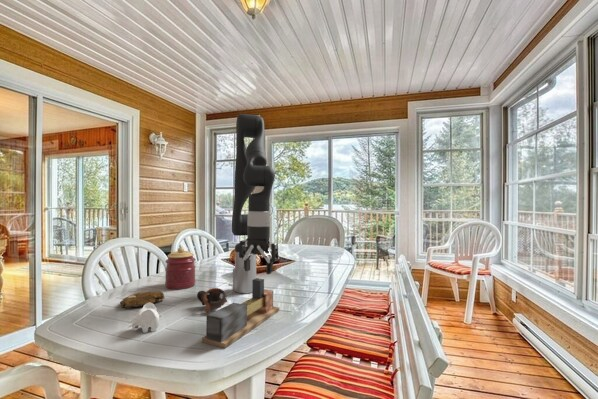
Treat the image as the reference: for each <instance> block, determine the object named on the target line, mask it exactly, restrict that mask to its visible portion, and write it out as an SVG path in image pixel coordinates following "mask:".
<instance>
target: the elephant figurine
mask: <svg viewBox="0 0 598 399" xmlns="http://www.w3.org/2000/svg"><path fill="white" fill-rule="evenodd" d="M142 306H143V307H142V308H140V309H139V310H138V311H137V313H136V315H135V317H134V318H133V319H132V320H131V321H130V322H129V324H130V325H129V326H128V327H127V329H129V328H132V330H133V331H137V330H138V329H139V327H140V328H141V329H142V332H143V333H146V334H147V333H148V332H149V328H150V331H151V332H156V331H157V330H158V328H159V326H160V318H161V317H163V315H164V313H162V314H159V312H158V311H157V310H158V308H157V306H156V305H155V303H150V302H149V303H147V304H145V305H142Z"/></svg>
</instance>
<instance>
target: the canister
mask: <svg viewBox="0 0 598 399" xmlns="http://www.w3.org/2000/svg"><path fill="white" fill-rule="evenodd" d="M184 249H185V248H183V247H181V246H180V247H178V248H177V251H176V250H175V251H172V252H170V253H169V254H168V255H167V259H166V260H165V264H166V266H165V268H164V270H165V282H164V285H165V288H166V289H168V290H185V289H189V288H192V287H194V286H195V284H196V264H195V261H196V258H195V257H194V253H193V252H191V251H189V250H184Z"/></svg>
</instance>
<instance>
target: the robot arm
mask: <svg viewBox="0 0 598 399" xmlns="http://www.w3.org/2000/svg"><path fill="white" fill-rule="evenodd" d="M235 125H236V126H235V134H236V135H235V136H236V137H235V139H236V145H235V147H236V151H235V152H236V154H235V169H234V190H233V191H234V196H233V208H232V217H231V232H232V235H233V236H239V237H241V236H246V237H247V238H246V239H243V240H240V241H239V243H236V244H235V246H234V268H232V291H234V292H235V293H239V294H251V293H252V281H253V280H254V279H256V278H257V255H258V256H262V257H263V259H265V261H266V265H265V266H266V272H265V274H266V275H270V274H272V273H273V271H274V262H277V261H279V244H278V242H273V243H272V242H270V238H271V237H270V236H271V234H270V233H271V229H270V228H271V227H270V226H271V216H270V199H271V192H272V189H273V184H274V182H275V178H276V172H275V169H274V168H273V167H272V166H270V165H267V163H268V161H267V156H266V151H265V150H266V148H265V143H266V142H265V141H266V140H265V135H266V134H265V121H264V118H263V117H262V116H260V115H257V114H249V113H248V114H245V113H239V114H238V115H237V116H236V124H235ZM245 138H247V139H252V140H251V141H249V143H248V145H247V147H246V144H245ZM256 187H263V189H262V191H260V192H255V193H254V191H255V189H256ZM247 200H248V201H247ZM246 202H248V211H247V214H246V213H245V214H242V210H243V208H244V205H245V203H246ZM269 248H270V250H269Z"/></svg>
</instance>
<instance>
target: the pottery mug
mask: <svg viewBox="0 0 598 399" xmlns="http://www.w3.org/2000/svg"><path fill="white" fill-rule="evenodd" d="M221 295H222V297H221ZM196 297H197V299H198V300H199V302H200V303H201V305H202V306H204V312H205V313H207V314H210V313H209V312H210V311H214V310H219V308H220V309H221V308H222V307H223V306H224V305H225V304H226V303H228V299H227V295H226V291H224V289H221V288H219V287H213V288H208V289H207V290H206V291H205V290H199V291H198V292H197V294H196Z"/></svg>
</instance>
